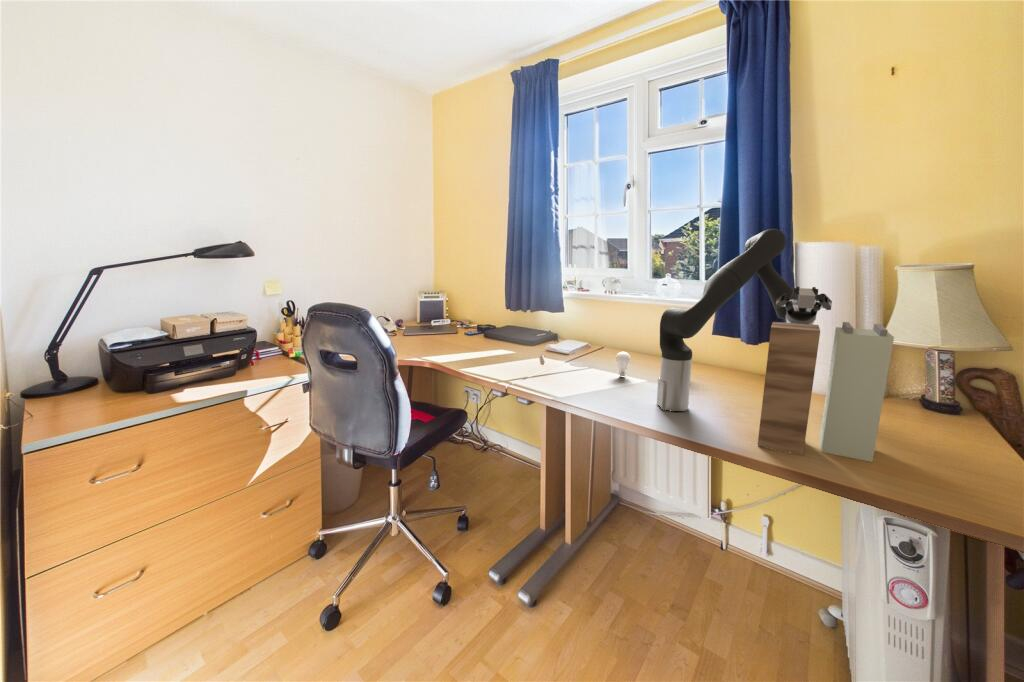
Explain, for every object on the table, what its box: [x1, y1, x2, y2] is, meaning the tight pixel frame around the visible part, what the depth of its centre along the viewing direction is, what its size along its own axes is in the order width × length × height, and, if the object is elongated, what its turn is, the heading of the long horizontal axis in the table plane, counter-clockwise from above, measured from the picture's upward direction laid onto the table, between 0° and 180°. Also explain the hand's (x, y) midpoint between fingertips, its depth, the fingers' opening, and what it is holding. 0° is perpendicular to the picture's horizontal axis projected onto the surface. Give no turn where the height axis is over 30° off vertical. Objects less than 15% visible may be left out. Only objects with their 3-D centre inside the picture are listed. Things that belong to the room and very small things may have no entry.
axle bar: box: [797, 287, 815, 308], centre depth 108 cm, size 22×3×3 cm, turn 146°
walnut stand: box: [757, 321, 821, 456], centre depth 109 cm, size 10×10×32 cm
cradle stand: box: [819, 321, 895, 463], centre depth 105 cm, size 10×10×32 cm
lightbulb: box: [614, 351, 632, 377], centre depth 173 cm, size 6×6×11 cm
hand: (805, 290), depth 112 cm, fingers closed on axle bar, 3 cm apart
